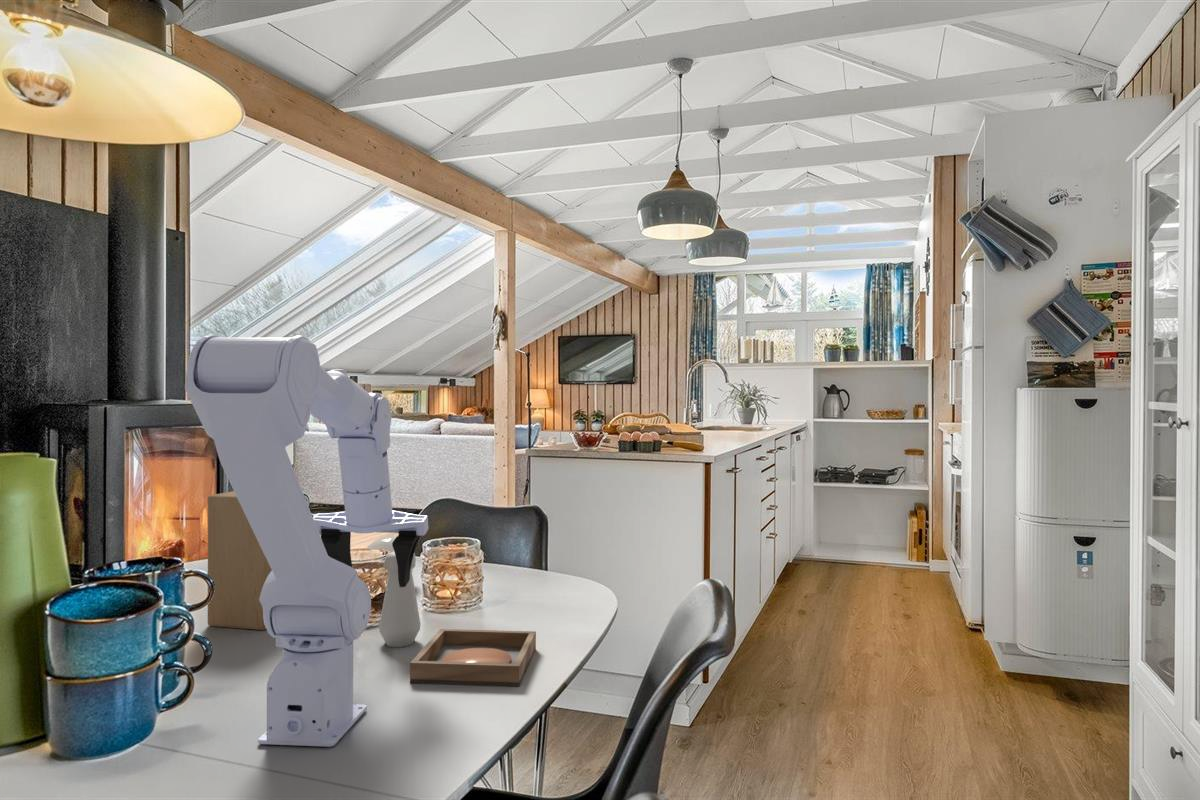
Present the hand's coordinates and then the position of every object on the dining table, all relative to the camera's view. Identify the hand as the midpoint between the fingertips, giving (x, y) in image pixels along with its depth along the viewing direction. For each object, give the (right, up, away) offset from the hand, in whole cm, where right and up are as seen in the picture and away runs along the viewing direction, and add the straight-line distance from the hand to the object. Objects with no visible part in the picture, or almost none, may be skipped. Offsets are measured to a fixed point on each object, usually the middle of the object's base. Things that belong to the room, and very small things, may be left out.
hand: (375, 582), depth 100 cm
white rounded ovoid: (-10, -11, +38) cm, 41 cm away
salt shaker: (+1, -11, +10) cm, 15 cm away
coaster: (+13, -11, +1) cm, 17 cm away
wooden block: (-25, -11, +20) cm, 34 cm away
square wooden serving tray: (+13, -11, +1) cm, 17 cm away
